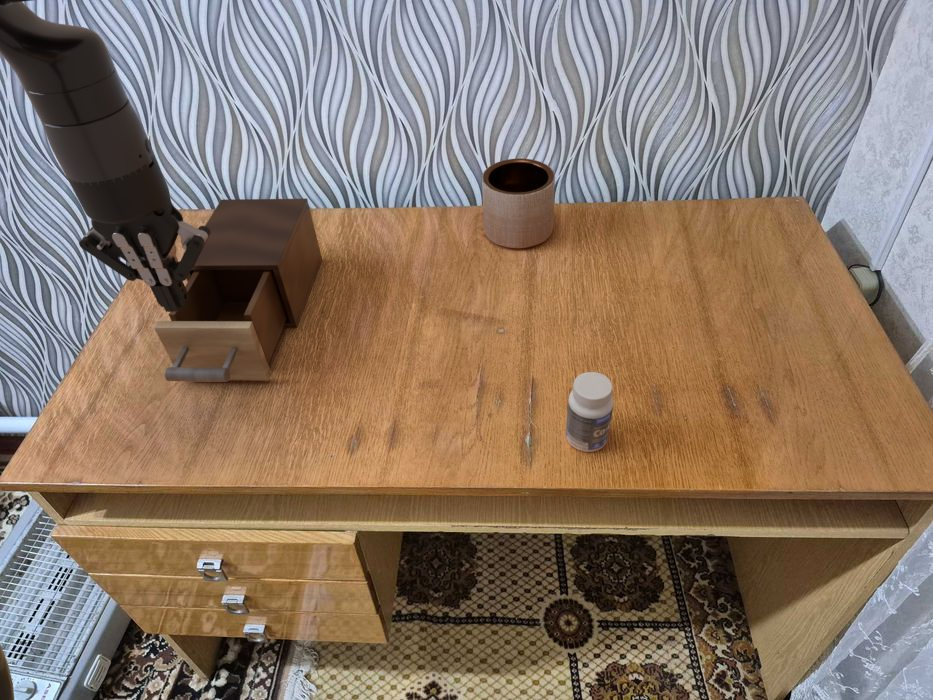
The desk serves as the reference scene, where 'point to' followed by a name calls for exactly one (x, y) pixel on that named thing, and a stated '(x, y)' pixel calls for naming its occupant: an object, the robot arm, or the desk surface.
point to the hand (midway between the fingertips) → (177, 306)
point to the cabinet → (266, 246)
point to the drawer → (224, 327)
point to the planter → (518, 202)
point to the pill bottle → (589, 412)
